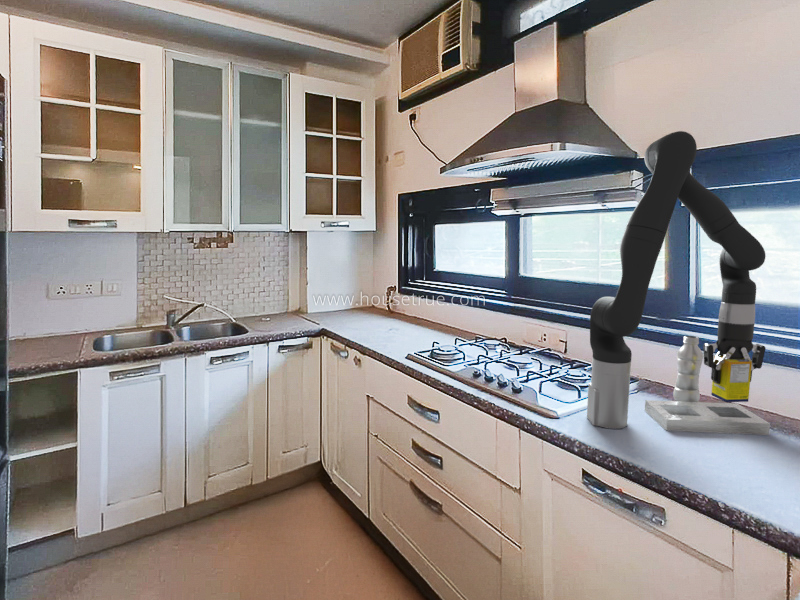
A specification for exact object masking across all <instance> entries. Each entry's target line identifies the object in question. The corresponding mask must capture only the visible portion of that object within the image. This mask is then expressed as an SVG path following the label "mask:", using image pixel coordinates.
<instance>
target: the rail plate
mask: <svg viewBox="0 0 800 600" xmlns="http://www.w3.org/2000/svg"><path fill="white" fill-rule="evenodd" d="M644 412H646V413H647V414H648V415H649V416H650V417H651V418H652V419H653V420H654V421H655V422H656V423H658V424H659V425H660V426H661V427H662V428H663V429H664V430H665V431H666V432H688V433H692V432H693V433H710V434H711V433H712V434H714V433H715V434H732V433H733V434H736V435H758V436H760V435H761V436H770V429H771V422H768V421H766V420H765V419H763V418H762V417H760V416H758V415H757V414H755V413H754V412H752V411H750V410H748V409H747V408H746V407H744V406H743V405H740V404H739V403H737V402H707V401H706V402H705V401H698V402H680V401H675V400H652V399H651V400H650V399H649V400H647V399H646V400H645V403H644Z"/></svg>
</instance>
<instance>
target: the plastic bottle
mask: <svg viewBox="0 0 800 600" xmlns="http://www.w3.org/2000/svg"><path fill="white" fill-rule="evenodd" d="M699 340H700V338H699V337H698V336H696V335H684V336H683V340H682V343H683V345H681V347H680V348H679V349H678V351H676V352H677V353H676V358H677V359H676V361H677V374H676V375H677V377H676V381H675V386H674V389H673V393H672V396H673V399H674V401H680V402H700V399H701V398H700V397H701V396H700V393H701V392H700V388H699V387H700V386H699V385H700V380H699V379H700V373H701V367H702V363H703V362H704V352H703V351H702V350H701V348H700V347H699V344H700V341H699Z"/></svg>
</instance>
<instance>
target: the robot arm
mask: <svg viewBox="0 0 800 600" xmlns="http://www.w3.org/2000/svg"><path fill="white" fill-rule="evenodd" d="M697 150H698V147H697V143H696V139H695V138H694V136H693V135H692V134H691V133H689V132H687V131H683V130H679V131H674V132H671V133H668V134H665V135H664V136H662V137H661V138H659V139H657V140H655V141H653V142H652V143H650V144H649V145H648V146H647V148H646V149H645V152H644V164H645V166H646V167H647V169H648V170H649V171H650V173H651V174H652V176H651V179H650V182H649V185H648V186H647V189H646V191H645V193H644V194H643V196H642V197H641V198H640V200H639V202H638V204H637V205H636V206H635V208H634V210H633V211H632V213H631V214H630V216H629V218H628V221H627V224H626V225H625V228H624V229H625V230H624V232H623V235H622V238H621V241H620V247H619V248H620V249H619V250H620V251H619V252H620V253H619V254H620V261H621V262H620V263H621V279H620V282H619V283H620V284H619V287H618V289H617V292H616V296H602V297H600V298H599V299H597V300H596V301H595V302H594V304H593V306H592V307H591V311H590V314H589V315H590V317H589V343H590V344H589V345H590V348H591V350H592V351H591V352H592V358H591V359H592V361H591V379H590V382H589V383H588V393H587V406H586V407H587V411H586V412H587V413H586V418H587V419H588V421H589V422H590V423H591V425H592V426H597V427H602V428H606V429H614V430H615V429H616V430H617V429H618V430H619V429H623V428H624V429H625V428H626V427H627V426H628V419H629V415H628V414H629V402H630V401H629V400H630V399H629V398H630V384H631V373H632V371H631V370H632V356H633V355H632V350H631V348H630V347H629V346H628V345H627V343H626V341H625V339H624V337H629V336H630V335H632V334H634V332H636V331H637V329H638V327H639V325H640V323H641V321H642V317H643V314H644V313H643V312H644V308H645V305H646V299H647V295H648V290H649V287H650V284H651V283H650V282H651V280H652V277H653V273H654V270H655V268H656V267H655V266H656V263H657V260H658V258H659V255H660V253H661V250H662V247H663V245H664V241H665V238H666V236H667V231H668V228H669V225H670V221H671V219H672V216H673V213H674V210H675V209H676V208H675V207H676V204H677V201H678V200H679V202H681V204H683V206H684V207H685V208H686V209H687V210H688V212H689V213H690V214H691V216H692V217H693V219H695V221H696V222H697V224H698V225H699V226H700V228H701V230H702V231H704V234H706V236H707V237H708V239H710V240H711V241H712V242H714V243H717V244H718V245H720V246H721V247H722V250H721V252H720V256H719V270H720V277H721V283H722V291H721V292H722V294H721V302H720V307H719V311H718V323H717V341H716V342H715V343H708V342H705V343H704V344H702V345H703V346H702V347H703V364H704V365H705V366H706V367H708V368H711V371H710V372H711V373H710V375H711V376H710V379H711V381H712V380H713V382H714V383H716V384H720V379H721V370H720V369H721V368H722V366H723V364H724V363H725V360H728V359H743V358H744V360H751V361H752V366H751V377H750V383H751V382H752V377H753V371H754V370H756V369H761V368H762V366H763V363H764V357H765V353H766V346H764V345H762V344H759V343H756V344H755V343H753V341H752V340H753V339H754V331H755V322H756V321H755V320H756V300H757V299H756V296H757V284H756V282H755V281H754V280H752V279H751V278H750V271H754V270H755V271H756V270H757V269H759V268H760V267H762V266H763V265H764V263H765V261H766V251H765V248H764V246H763V245H762V244H761V242H760V241H759V240H758V239H757V238H756V237H755V236H754V235H753V234H751V232H750V231H748V230H747V229H746V228H745V227H744V226H743V225H741V224H740V222H739V221H738V220H737V218H736V217H735V215H734V214H733V212H732V211H731V210H730V209H729V207H728V206H727V204H726V203H725V202H724V201H723V200H722V199H721V198H720V197H719V196H718V195H716V194H715V193H713V192H712V191H711V190H709V189H708V188H707V187H705V186H704V185H703V184H702V183H700V182H699V181H698V180H697V179H696V178H695V177H694V176H693V174H692V173H691V172H690V170H691V168H692V166H693V164H694V162H695V159H696V156H697V152H698V151H697ZM716 349H717V351H718V352H717V353H716V354H715V355H714V353H715V352H716ZM751 351H752V355H751V357H750V355H749V353H750V352H751ZM714 356H715V360H714ZM722 356H723V357H722ZM720 357H722V358H720ZM718 360H719V362H718Z"/></svg>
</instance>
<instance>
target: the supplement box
mask: <svg viewBox="0 0 800 600" xmlns="http://www.w3.org/2000/svg"><path fill="white" fill-rule="evenodd" d="M715 356H716V355H713V358H714V360H715ZM722 357H723V356H722ZM722 357H720V358H722ZM751 360H752V359H751ZM751 360H744V358H743V359H728V360H725V363H724V364H723V366H722V368H721V369H720V370H721V379H720V384H716V383H714V382H713V380H712V379H711V381H712V382H711V383H712V384H711V394H710V395H711V396H712V397H714V398H716V399H719V400H720V401H723V402H724V403H741V402H742V403H746V402H747V403H748V402H749V398H750V397H749V396H750V388H751V387H750V386H751V382H750V377H751V366H752V361H751ZM718 362H719V360H718Z"/></svg>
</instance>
